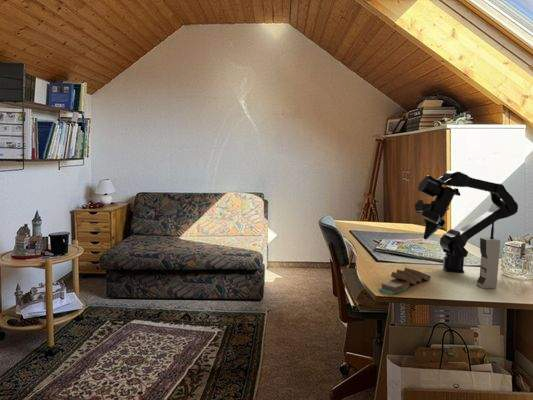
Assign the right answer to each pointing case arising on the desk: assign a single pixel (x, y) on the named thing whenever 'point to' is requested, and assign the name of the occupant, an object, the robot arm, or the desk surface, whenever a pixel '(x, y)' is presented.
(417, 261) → the desk surface
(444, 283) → the desk surface
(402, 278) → the domino
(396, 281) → the domino
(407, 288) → the domino
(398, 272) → the domino
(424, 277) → the domino
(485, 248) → the vintage mobile phone
